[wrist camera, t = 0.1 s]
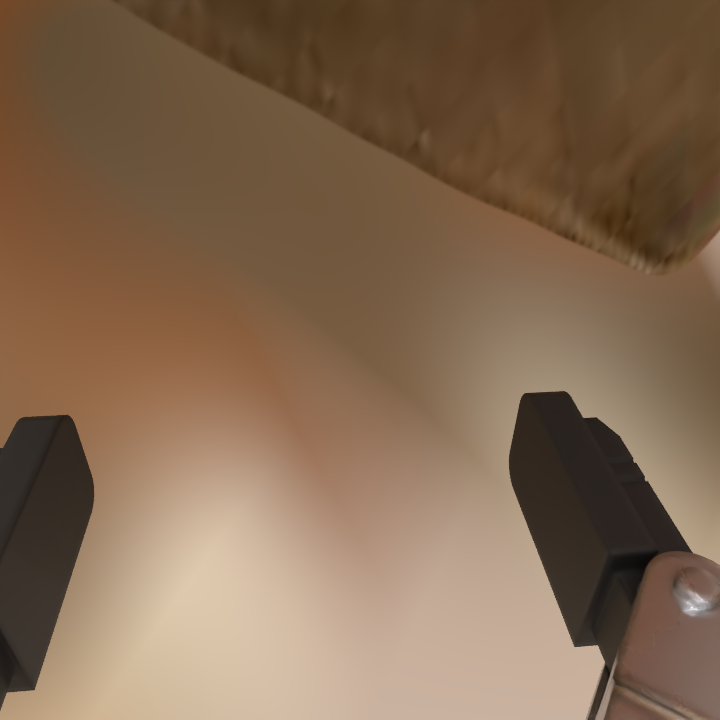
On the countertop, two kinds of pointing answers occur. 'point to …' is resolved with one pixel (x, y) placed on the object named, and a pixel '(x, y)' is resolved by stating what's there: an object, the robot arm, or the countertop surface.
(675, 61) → the countertop surface
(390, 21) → the countertop surface
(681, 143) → the countertop surface
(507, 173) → the countertop surface
